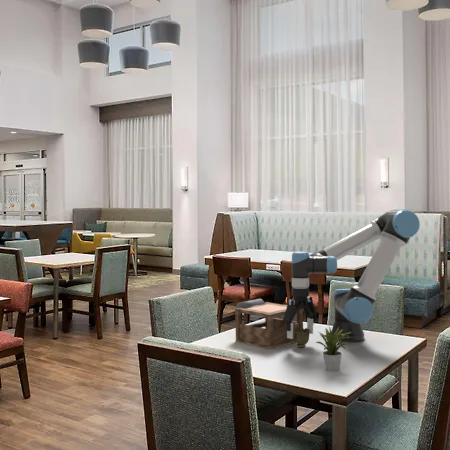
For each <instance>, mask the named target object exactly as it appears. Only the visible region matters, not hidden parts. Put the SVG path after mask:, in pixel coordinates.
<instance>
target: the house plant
mask: <svg viewBox="0 0 450 450" xmlns="http://www.w3.org/2000/svg"><path fill="white" fill-rule="evenodd" d="M338 330H339V327H338V329H337V330H336V332H335V334H334V336H333V338H332V332H331V331H332V328H331V327H330V326H329V327H328V328H327V327H325V334H324V333H321V332H320V331H318V333H319V336H320V337H321V338H322V339H323V341H324V343H325V344H324V343H323V342H321V341H316V342H315V344H316V343H317V344H318V345H319V344H320V345H321V346H323V347H324V348H323V351H322V357H323V363H324V368H325V370H326V371H328V372H338V371H340V368H341V361H342V360H341V359H342V355H343V354H342V352H341V351H340V348H344V349H346V347H345V346H348V344H347V342H342V341H340V340H342V339H345V338H349V337H344V336H346V335H345V334H341V332H342V330H343V329H342V330H340V331H339V332H338ZM350 333H352V332H350ZM340 334H341V335H342V336H343V337H342V336H341V337H342V338H341V337H340V338H339V336H340ZM346 334H348V333H346ZM338 350H339V351H338Z"/></svg>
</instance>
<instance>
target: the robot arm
mask: <svg viewBox="0 0 450 450" xmlns="http://www.w3.org/2000/svg"><path fill="white" fill-rule="evenodd" d="M420 226H421V225H420V219H419V217H418V215H417V214H416V213H415V212H413V211H411V210H408V209H392V210H389V211H386V212H385V213H383V214H381V215H380V216H378V217H376V218H375V219H373V220H371V221H370V223H369V224H368V225H367V226H364V227H362V228H361V229H359V230H357V231H355V232H353V233H351V234H349V235H348V236H345V237H343V238H342V239H340V240H338V241H336V242H334V243H333V244H330V245H328V246H327V247H325V248H323V249H321V250H319V251H317V252H313V253H309V251H294V252H292V254H291V262H290V263H291V296H292V299H288V300H287V304H286V305H287V308H286V312H285V315H284V318H283V322H285V323H286V330H287V338H290V339H293V323H292V321H293V319H294V317H295V315H296V313H297V311H298V310H299V309H302V308H303V312H305V313H306V316H307V319H306V320H307V321H306V324H307V325H306V326H307V327H306V328H307V329H309V330H310V334H309V335H313V334H314V324H315V323H314V320H315V319H316V318H317V316H318V314H317V311H316V307H315V305H314V302H313V297H312V296H310V288H309V287H310V275H311V274H328V275H329V274H335V273H336V272H337V270H338V261H339V260H340V259H342V258H345V257H346V256H349V255H351V254H353V253H354V252H355V251H357V250H360V249H362V248H363V247H365V246H367V245H369V244H371V243H373V242H375V241H376V240H380V242H379V243H378V246H377V247H376V249H375V251H374V253H373V255H372V257H371V259H370V261H369V262H368V264H367V265H366V268H365V269H364V271H363V273H362V275H361V276H360V278H359V280H358V282H357V284H356V285H352V286H351V287H350V288H337V289H335V290H334V292H333V311H334V313H333V315H334V317H333V319H334V321H333V325H332V328H331V332H332V338H333V336H334V334H335V332H336V330H337V329H338V327H339V330H338V332H339V331H340V330H342V329H343V330H342V332H341V334H345V335H346V336H344V337H349V338H345V339H342V340H340V342H344V343H345V342H346V343H351V342H352V343H357V342H361V341H364V340H365V332H364V330H363V327H362V324H363V323H365V322H368V321H369V320H370V319H371V317H372V315H373V313H374V309H373V306H374V305H375V303H376V300H377V298H376V293H377V291H378V290H379V287H380V286H381V285H382V282H383V280H384V279H385V277H386V275H387V274H388V271H389V270H390V268H391V266H392V263H393V262H394V260H395V258H396V257H397V255H398V253H399V252H400V249H401V248H402V247H404V246H406V245H407V244H408V243H409V241H410V239H411V238H412V237H414V236H415V235H416V234H417V233H418V232H419V230H420ZM289 320H290V321H289ZM350 332H352V333H350ZM346 333H348V334H346ZM341 334H340V336H339V338H340V337H341V336H342V335H341ZM342 337H343V336H342ZM342 337H341V338H342Z"/></svg>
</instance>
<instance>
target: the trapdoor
mask: <svg viewBox="0 0 450 450" xmlns="http://www.w3.org/2000/svg"><path fill="white" fill-rule="evenodd" d="M264 303H265V302H264V300H263V299H262V298H256V299H251V300H246V301H245V300H244V301H239V302H237V304H236V306H235V309H236V308H244V309H250V310H256V311H262V312H268V313H272V312H276V311H281V310H285V309H286V308H287V307H284V306H277V305H271V304H264ZM241 314H243V313H242V312H241Z"/></svg>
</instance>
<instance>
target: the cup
mask: <svg viewBox="0 0 450 450" xmlns="http://www.w3.org/2000/svg"><path fill="white" fill-rule="evenodd" d="M310 335H311V334H310V330H309V329H307V327H305V328H304V327H303V328H302V329H301V328H297V330H296V328H295V330H294V329H293V336H294V341H295V343H294V344H297V345H296V346H297V348H299V349H305V348H306V346H307V345H306V344H308V342H309V340H310Z"/></svg>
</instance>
